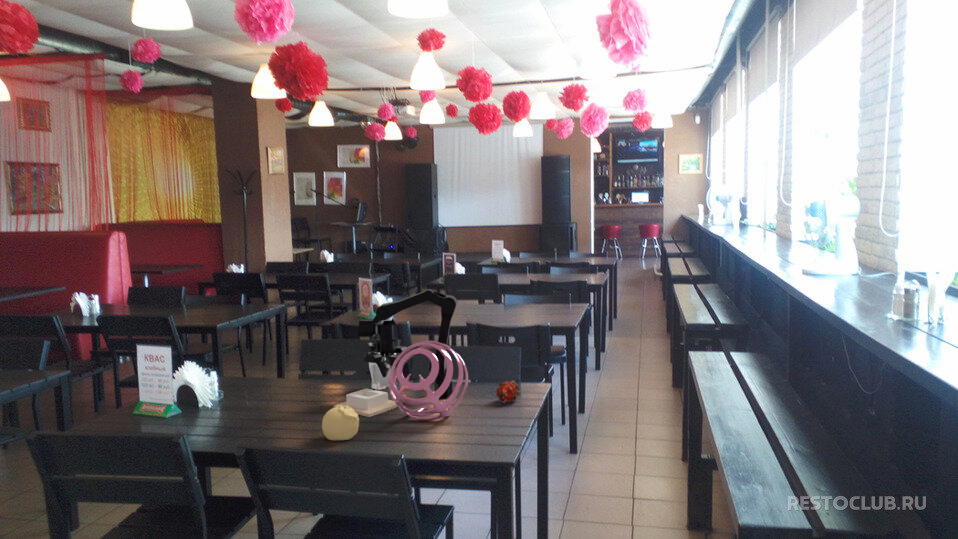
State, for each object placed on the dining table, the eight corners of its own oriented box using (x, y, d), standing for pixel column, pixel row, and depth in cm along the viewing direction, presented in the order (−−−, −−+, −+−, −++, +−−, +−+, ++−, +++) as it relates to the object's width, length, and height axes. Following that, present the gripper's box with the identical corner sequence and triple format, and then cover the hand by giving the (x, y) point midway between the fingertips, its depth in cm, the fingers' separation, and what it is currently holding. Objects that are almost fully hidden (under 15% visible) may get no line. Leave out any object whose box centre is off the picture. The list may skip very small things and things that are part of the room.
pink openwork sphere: (424, 348, 268) (399, 319, 245) (488, 370, 257) (468, 342, 234) (392, 415, 258) (363, 391, 235) (458, 441, 247) (433, 419, 224)
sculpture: (363, 440, 224) (361, 407, 223) (325, 446, 220) (323, 413, 219) (357, 430, 235) (355, 399, 234) (321, 435, 231) (318, 403, 230)
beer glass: (385, 389, 284) (383, 353, 283) (368, 390, 284) (366, 354, 283) (388, 385, 291) (386, 350, 290) (371, 386, 291) (369, 350, 290)
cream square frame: (401, 405, 261) (401, 392, 260) (369, 417, 248) (368, 402, 248) (366, 398, 273) (365, 385, 273) (333, 408, 261) (332, 394, 261)
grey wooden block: (400, 385, 270) (399, 366, 270) (392, 387, 267) (391, 368, 266) (384, 382, 276) (383, 363, 275) (376, 384, 273) (375, 365, 272)
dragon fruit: (517, 401, 266) (505, 414, 256) (499, 387, 268) (486, 400, 257) (527, 385, 262) (515, 398, 252) (509, 371, 264) (497, 384, 254)
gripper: (389, 330, 282) (391, 368, 284) (353, 338, 268) (356, 378, 269) (408, 333, 275) (410, 371, 276) (373, 341, 261) (375, 382, 262)
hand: (388, 375), depth 271 cm, fingers closed on grey wooden block, 4 cm apart
